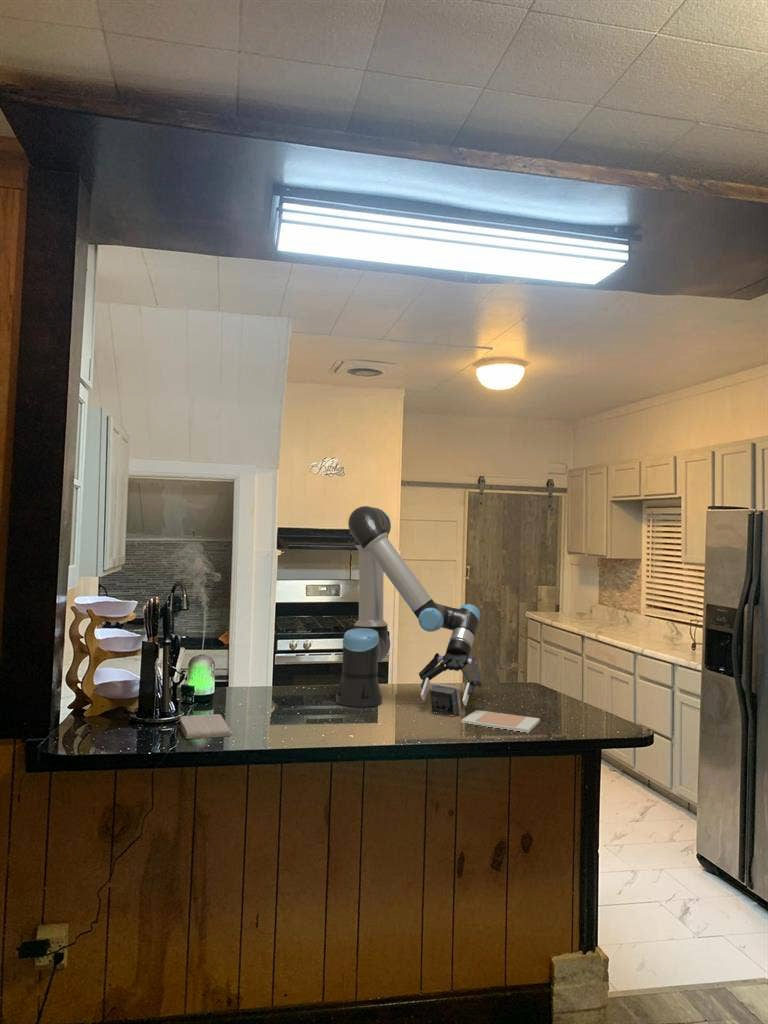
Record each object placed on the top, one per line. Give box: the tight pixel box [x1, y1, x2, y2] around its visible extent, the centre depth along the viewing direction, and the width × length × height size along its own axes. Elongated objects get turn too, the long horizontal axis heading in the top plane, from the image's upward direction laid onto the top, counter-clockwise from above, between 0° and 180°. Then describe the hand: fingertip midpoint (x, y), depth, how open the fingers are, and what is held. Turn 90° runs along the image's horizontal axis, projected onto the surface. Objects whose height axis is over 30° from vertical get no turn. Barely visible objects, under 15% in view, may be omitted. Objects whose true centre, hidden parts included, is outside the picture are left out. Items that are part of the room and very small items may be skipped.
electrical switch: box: [429, 682, 462, 717], centre depth 223 cm, size 9×5×9 cm, turn 57°
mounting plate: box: [460, 709, 541, 734], centre depth 214 cm, size 20×15×1 cm
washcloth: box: [179, 713, 232, 740], centre depth 196 cm, size 12×18×3 cm, turn 23°
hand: (443, 700), depth 221 cm, fingers open, 13 cm apart
